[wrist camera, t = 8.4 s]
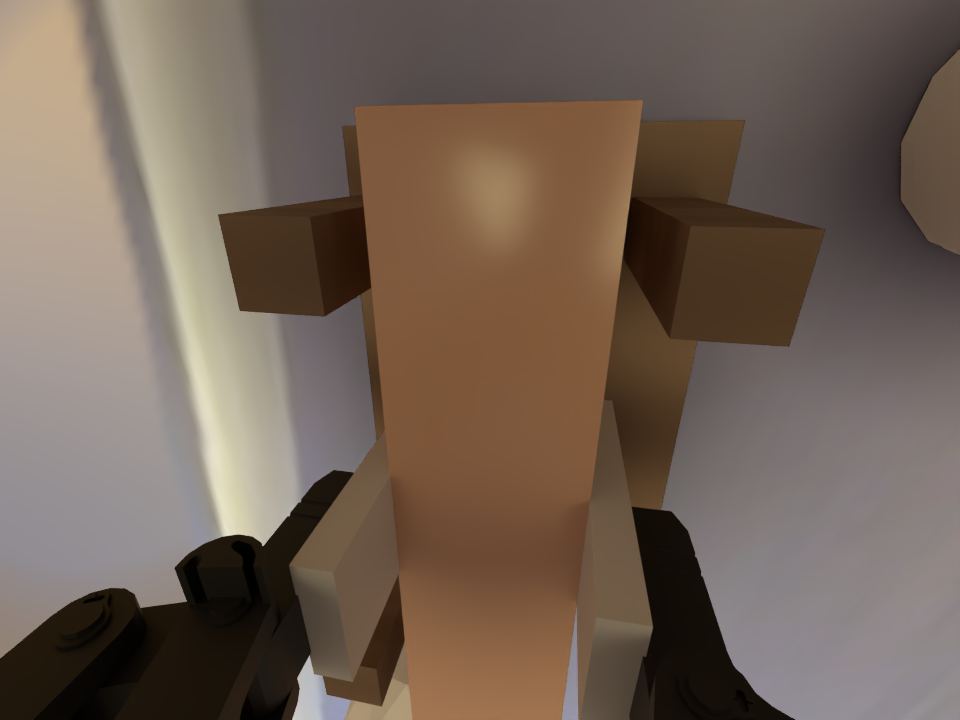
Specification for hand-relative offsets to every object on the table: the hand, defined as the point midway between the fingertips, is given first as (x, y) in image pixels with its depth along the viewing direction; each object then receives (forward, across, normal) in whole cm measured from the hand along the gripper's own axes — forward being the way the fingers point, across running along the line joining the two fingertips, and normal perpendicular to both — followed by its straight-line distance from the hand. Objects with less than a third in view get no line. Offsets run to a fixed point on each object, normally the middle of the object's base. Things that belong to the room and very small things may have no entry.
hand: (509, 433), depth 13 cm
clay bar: (+1, 0, 0) cm, 1 cm away
